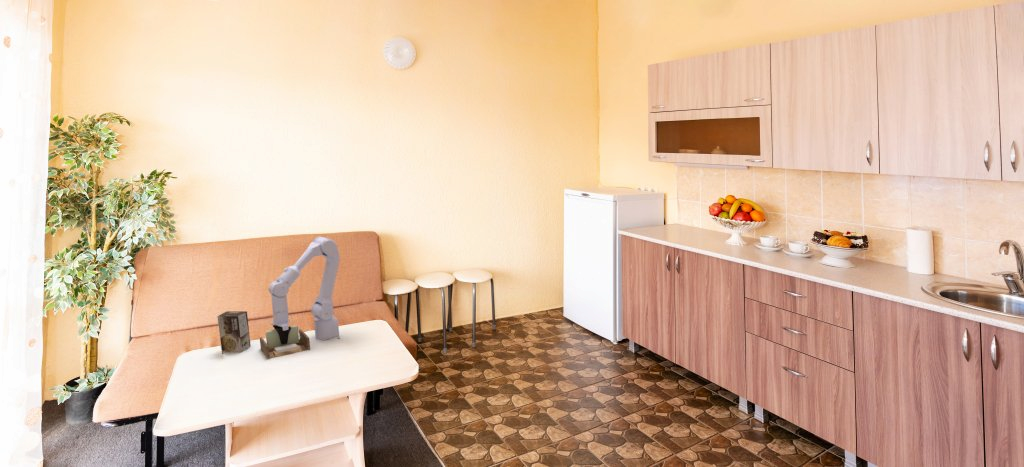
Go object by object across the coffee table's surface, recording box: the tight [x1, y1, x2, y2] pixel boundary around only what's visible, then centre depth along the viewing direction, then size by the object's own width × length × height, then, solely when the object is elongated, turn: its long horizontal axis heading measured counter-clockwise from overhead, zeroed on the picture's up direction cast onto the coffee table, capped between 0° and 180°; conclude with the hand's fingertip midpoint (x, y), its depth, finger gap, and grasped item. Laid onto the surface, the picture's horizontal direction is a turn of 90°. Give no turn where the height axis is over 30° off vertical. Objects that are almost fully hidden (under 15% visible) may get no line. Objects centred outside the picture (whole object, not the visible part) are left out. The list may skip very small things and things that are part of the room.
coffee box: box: [217, 310, 252, 355], centre depth 215 cm, size 9×6×16 cm
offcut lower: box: [273, 345, 303, 358], centre depth 211 cm, size 10×4×1 cm, turn 125°
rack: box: [259, 328, 311, 360], centre depth 214 cm, size 16×13×6 cm
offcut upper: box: [274, 344, 298, 353], centre depth 211 cm, size 8×4×1 cm, turn 125°
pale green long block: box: [265, 324, 300, 349], centre depth 216 cm, size 12×2×8 cm, turn 125°
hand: (283, 342), depth 217 cm, fingers open, 3 cm apart
